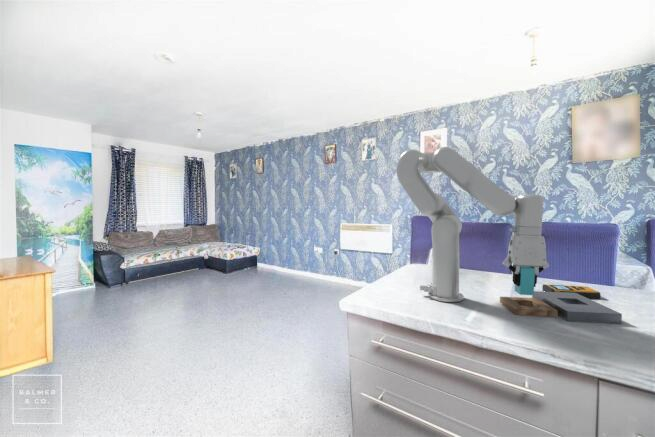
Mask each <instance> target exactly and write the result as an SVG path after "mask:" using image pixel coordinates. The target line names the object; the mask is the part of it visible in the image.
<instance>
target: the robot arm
mask: <svg viewBox="0 0 655 437" xmlns="http://www.w3.org/2000/svg"><path fill="white" fill-rule="evenodd" d="M395 169H396V170H395V171H396V177H397V179H398V182H399V184H400V185H401V187H402V189H404V191H405V193H406V194H407V195H408V198H410V200H411V202H412V203H413V204H414V206H415V207H416V208H417V210H418V212H419V213H420V214H421V215H423V216H424V217H428V218H429V219H430V221H431V223H432V224H431V230H430V232H431V233H430V234H431V247H432V279H431V280H432V282H430V284H428V285H423V284H420V285H419V291H423V292H424V293H425V292H426V293H427V296H428V298H430V299H432V300H435V301H439V302H443V303H459V302H462V301H464V298H465V297H464V294H463V293H461V292H460V233H461V231H462V228H463V224H462V221H461V219H460V217H459V216H458V215H457V213H456V212H455V211H454V210H453V208H452V207H451V206H450V204H449V203H448V201H446V199H445V198H444V197H443V196H442V195H441V194H439V193H437V192H435V191H434V190H433V189H432V188H431V187H430V186H429V184H428V182H427V181H426V179H425V178H424V177H423V176H422V174H432V173H433V174H434V173H442V174H444V175H445V176H446V177H447V178H449V180H451V181H452V182H454V184H456V185H457V186H458V187H459V188H460V189H462V190H463V191H464V192H466V193H468V194H469V195H470V196H472V197H473V198H474V199H475V200H476V201H478V202H479V203H480V204H481V205H482V206H484V207H485V208H486V209H487V210H489V212H491V213H492V214H493V215H495V216H498V217H506V216H510V215H514V225H513V227H510V228H509V232H512V233H513V234H512V235H511V236H510V240H509V243H508V249H507V256H506V258H504V260H503V261H502V265H504V266H505V267H507V268H508V269H509V270H510V271H511V272H512V282H513V284H514V286H515V285H517V286H520V274H519V271H520V267H521V266H530V267H533V268H535V280H534V288H536V285H537V284H538V276H539V275H540V273H541V272H543V271H544V270H546V269H548V268H549V267H550V263H549V262H548V261H547V244H546V240H545V236H544V235H543V236H542V232H543V231H542V230H543V228H542V226H543V216H544V215H543V213H544V197H543V195H541V194H519V195H513V194H512V195H511V194H509V193H508V192H507V191H505V189H503V188H501V187H500V185H498V184H497V183H495V182H494V181H492V180H491V179H490V178H489V177H487V175H485V173H483V171H482V170H480V169H479V168H478V167H476V166H475V165H473V164H472V163H471V162H470V161H469V160H467V159H466V158H465V157H464V156H462V155H461V154H460V153H458V152H457V151H456V150H455V149H453V148H452V147H449V146H443V147H442V146H441V147H440V148H438V149H437V150H435V151H432V152H421V151H420V150H417V149H413V148H412V149H411V148H410V149H408V150H405V151H404V152H403V153H402V154H401V155H400V156H399V158H398V160H397V163H396V168H395Z"/></svg>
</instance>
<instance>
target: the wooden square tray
mask: <svg viewBox="0 0 655 437" xmlns="http://www.w3.org/2000/svg"><path fill="white" fill-rule="evenodd" d="M499 303H500V304H501V305H503V306H504V307H505V308H506V309H507V310H508V311H510V313H512V314H514V315H516V316H530V317H531V316H533V317H534V316H535V317H550V318H552V317H553V318H557V317H559V316H558V311H557V310H556V309H554V308H552V307H551V306H549V305H547V304H546V303H544V302H542V301H541V300H539V299H537V298H532V297H519V296H516V297H515V296H499Z"/></svg>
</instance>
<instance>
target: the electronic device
mask: <svg viewBox="0 0 655 437" xmlns="http://www.w3.org/2000/svg"><path fill="white" fill-rule="evenodd" d="M544 291H545V292H568V293H577V294H579V295H582V296H584V297H586V298H588V299H590V300H600V299H601V292H600V291H598V290H596V289H594V288H592V287H589V286H583V285H561V284H560V285H559V284H558V285H557V284H542V292H544Z"/></svg>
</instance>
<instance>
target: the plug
mask: <svg viewBox="0 0 655 437" xmlns="http://www.w3.org/2000/svg"><path fill="white" fill-rule="evenodd" d="M519 274H520V286H517V285H515V284H514V292H516V293H517V294H518V295H520V296H521V295H525V296H532V295H534V291H535V287H534V280H535V268H533V267H530V266H521V267H520V271H519Z"/></svg>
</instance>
